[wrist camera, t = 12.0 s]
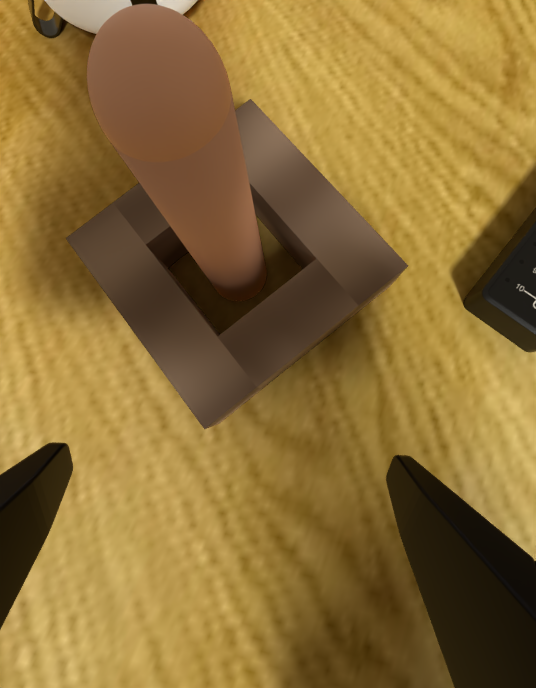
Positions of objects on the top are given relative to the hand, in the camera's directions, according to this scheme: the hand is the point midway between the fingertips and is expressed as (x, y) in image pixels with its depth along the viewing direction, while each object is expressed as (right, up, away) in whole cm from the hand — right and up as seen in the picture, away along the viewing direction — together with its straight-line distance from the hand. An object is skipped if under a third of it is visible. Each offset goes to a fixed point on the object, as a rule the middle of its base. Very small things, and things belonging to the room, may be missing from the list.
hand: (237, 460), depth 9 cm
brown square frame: (-1, +7, +10) cm, 12 cm away
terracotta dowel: (-1, +7, +10) cm, 12 cm away
